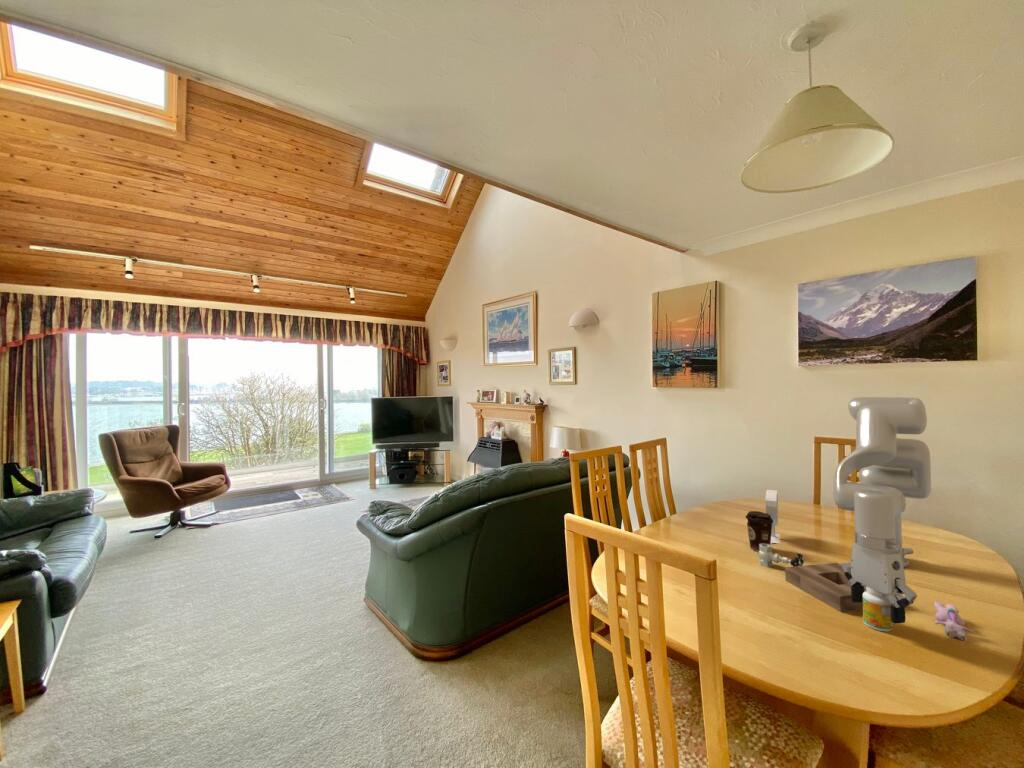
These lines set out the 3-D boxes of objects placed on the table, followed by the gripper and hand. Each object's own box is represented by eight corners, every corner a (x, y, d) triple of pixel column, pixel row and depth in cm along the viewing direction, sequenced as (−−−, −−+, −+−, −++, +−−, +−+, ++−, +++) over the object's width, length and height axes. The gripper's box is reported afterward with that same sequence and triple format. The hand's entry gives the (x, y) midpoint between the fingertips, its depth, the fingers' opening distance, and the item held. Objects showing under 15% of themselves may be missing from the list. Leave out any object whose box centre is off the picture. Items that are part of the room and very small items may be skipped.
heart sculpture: (780, 545, 153) (778, 497, 153) (764, 543, 156) (763, 495, 156) (780, 533, 166) (779, 488, 166) (766, 531, 169) (764, 487, 169)
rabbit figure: (978, 653, 93) (960, 613, 105) (979, 629, 92) (961, 591, 104) (938, 643, 97) (926, 606, 108) (939, 620, 96) (926, 584, 108)
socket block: (837, 575, 129) (836, 562, 129) (899, 605, 111) (898, 590, 111) (785, 580, 126) (785, 567, 126) (840, 611, 108) (839, 596, 108)
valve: (755, 566, 137) (798, 578, 128) (754, 546, 137) (797, 556, 128) (762, 560, 141) (804, 571, 132) (762, 541, 141) (803, 551, 132)
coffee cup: (747, 552, 148) (746, 515, 148) (744, 543, 156) (743, 509, 156) (776, 555, 145) (775, 518, 145) (771, 546, 152) (770, 511, 153)
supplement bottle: (857, 620, 104) (856, 581, 104) (877, 619, 105) (875, 580, 105) (878, 632, 99) (876, 592, 99) (898, 631, 99) (897, 590, 99)
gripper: (927, 554, 94) (930, 630, 94) (854, 529, 111) (856, 593, 111) (899, 556, 93) (901, 633, 93) (829, 531, 110) (831, 595, 110)
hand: (877, 611), depth 102 cm, fingers open, 9 cm apart
